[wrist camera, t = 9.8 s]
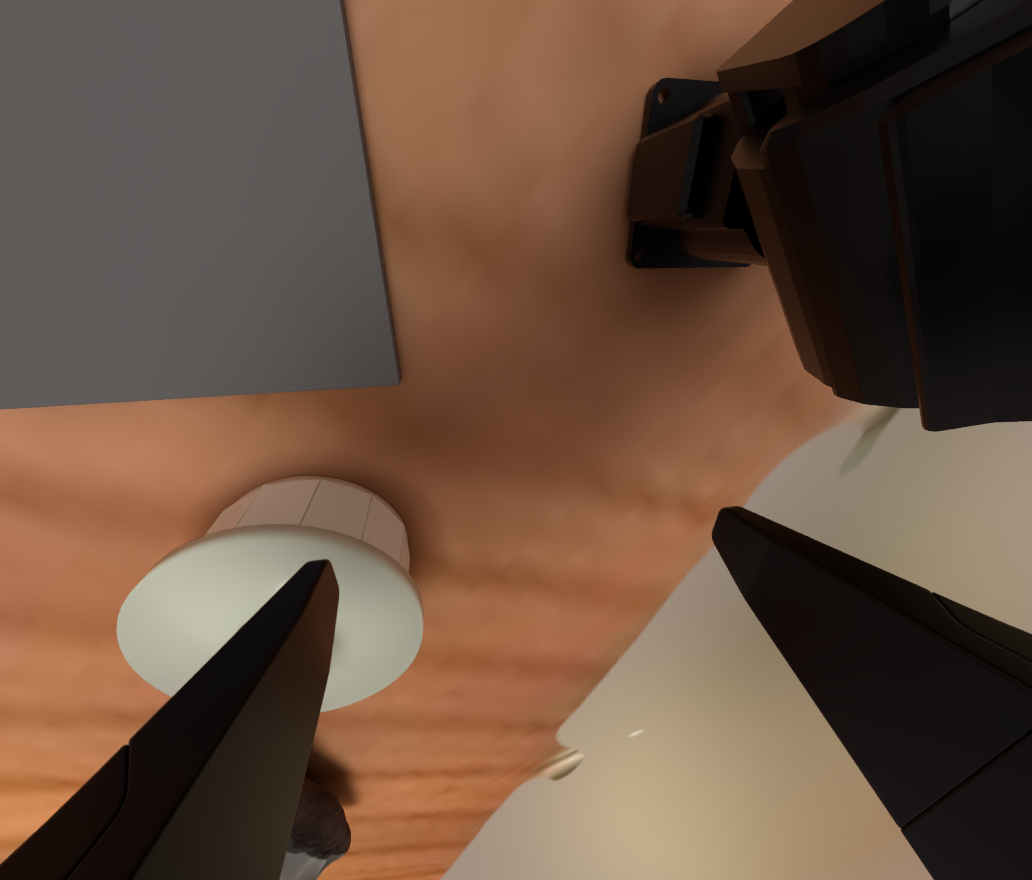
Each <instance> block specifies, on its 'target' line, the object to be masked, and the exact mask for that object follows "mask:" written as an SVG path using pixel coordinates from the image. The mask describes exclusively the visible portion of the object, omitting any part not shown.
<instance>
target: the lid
mask: <svg viewBox="0 0 1032 880" xmlns="http://www.w3.org/2000/svg"><path fill="white" fill-rule="evenodd" d="M321 559H328V560H329V561H330V562H331V564H332V566H333V570H334V573H335V576H336V579H337V582H338V585H339V604H338V611H337V619H336V627H335V635H334V642H333V650H332V658H331V665H330V672H329V676H328V681H327V686H326V690H325V694H324V698H323V702H322V706H321V710H320V713H321V712H325V711H329V710H334V709H337V708H341V707H344V706H347V705H350V704H353V703H355V702H358V701H360V700H363V699H365V698H367V697H369V696H371V695H373V694H375V693H377V692H379V691H380V690H382V689H383V688H385V687H387V686H388V685H390V684H391V683H392V682H393V681H395V680H396V679H397V678H398V677H399V676H400V675H401V674H402V673H404V672H405V671H406V670H407V668H408V667H409V666H410V664H411V663H412V662H413V660H414V658H415V657H416V655H417V653H418V651H419V648H420V645H421V642H422V635H423V616H424V611H423V601H422V598H421V595H420V591H419V589H418V587H417V586H416V584H415V582H414V580H413V579H412V578H411V576H410V575H409V574H408V572H407V571H406V570H405V569H404V568H403V567H402V566H401V565H400V564H399V563H398V562H397V561H396V560H394V559H393V558H391V557H390V556H389V555H387V554H386V553H385V552H383V551H381V550H379V549H378V548H376V547H374V546H372V545H371V544H369V543H366V542H364V541H361V540H359V539H357V538H354V537H352V536H349V535H345V534H342V533H339V532H335V531H331V530H327V529H322V528H317V527H311V526H302V525H293V524H263V525H249V526H243V527H237V528H231V529H225V530H222V531H218V532H215V533H211V534H207V535H204V536H202V537H199V538H197V539H194V540H192V541H189V542H187V543H185V544H184V545H182V546H180V547H178V548H176V549H174V550H173V551H171V552H170V553H168V554H167V555H166V556H164V557H163V558H162V559H160V560H159V561H158V562H157V563H156V564H155V565H154V566H153V567H152V568H151V569H150V570H149V571H148V572H147V574H146V575H145V576H144V577H143V578H142V580H141V581H140V582H139V583H138V584H137V585H136V587H135V588H134V589H133V590H132V591H131V593H130V594H129V595H128V597H127V599H126V600H125V602H124V604H123V605H122V607H121V610H120V613H119V616H118V619H117V637H118V643H119V646H120V649H121V651H122V653H123V655H124V657H125V659H126V660H127V662H128V663H129V664H130V666H131V667H132V668H133V669H134V670H135V671H136V672H137V673H138V674H139V675H140V676H141V677H142V678H143V679H144V680H145V681H147V682H148V683H149V684H151V685H152V686H153V687H155V688H157V689H158V690H160V691H162V692H164V693H165V694H167V695H169V696H171V697H172V696H173V695H174V694H175V693H176V692H177V691H178V690H179V689H180V688H181V687H182V686H183V685H184V684H185V683H186V682H187V681H188V680H189V679H190V678H191V677H192V676H193V675H194V674H195V673H196V672H197V671H198V670H199V669H200V668H201V667H202V666H203V665H204V664H205V663H206V662H207V661H208V660H209V659H210V658H211V657H212V656H213V655H214V654H215V653H216V652H217V651H218V650H219V649H220V648H221V647H222V646H223V645H224V644H225V643H226V642H227V641H228V640H229V639H230V638H231V637H232V636H233V635H234V634H235V633H236V632H237V631H238V630H239V629H240V628H241V627H242V626H243V625H244V624H245V623H246V622H247V621H248V620H249V619H250V618H251V617H252V616H253V615H254V614H255V613H256V612H257V611H258V610H259V609H260V608H261V607H262V606H263V605H264V604H265V603H266V602H267V601H268V600H269V599H270V598H271V597H272V596H273V595H274V594H275V593H276V592H277V591H278V590H279V589H280V588H281V587H282V586H283V585H284V584H285V583H286V582H287V581H288V580H289V579H290V578H291V577H292V576H293V575H294V574H295V573H296V572H297V571H298V570H299V569H300V568H301V567H302V566H303V565H304V564H305V563H307V562H309V561H313V560H321Z"/></svg>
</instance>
